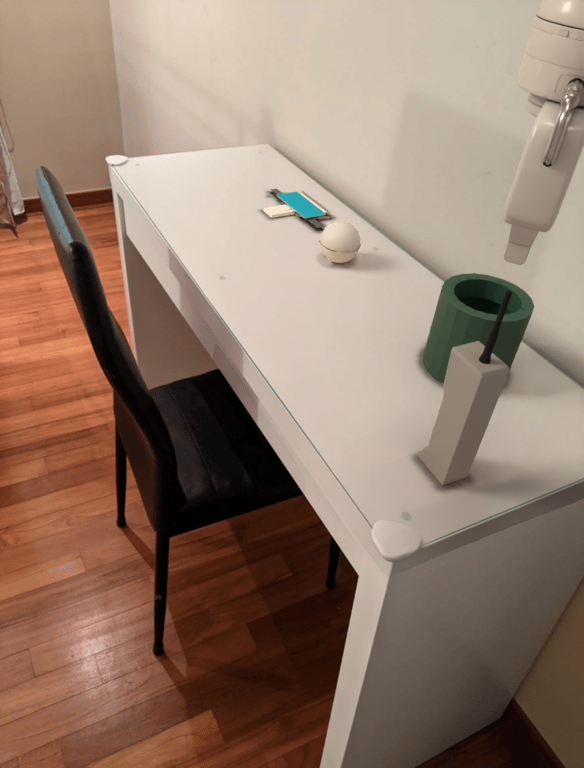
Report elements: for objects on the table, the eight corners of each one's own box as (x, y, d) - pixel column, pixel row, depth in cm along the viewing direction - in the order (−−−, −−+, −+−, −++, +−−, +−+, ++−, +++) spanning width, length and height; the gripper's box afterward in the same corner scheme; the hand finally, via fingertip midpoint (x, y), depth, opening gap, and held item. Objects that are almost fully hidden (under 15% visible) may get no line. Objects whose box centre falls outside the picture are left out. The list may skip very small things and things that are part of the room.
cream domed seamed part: (310, 254, 113) (314, 216, 108) (345, 249, 116) (350, 212, 111) (335, 280, 106) (341, 241, 102) (372, 274, 109) (379, 236, 104)
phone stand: (245, 195, 131) (246, 188, 130) (293, 189, 136) (294, 181, 135) (291, 235, 118) (292, 227, 117) (342, 226, 123) (343, 218, 122)
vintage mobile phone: (441, 450, 76) (503, 271, 60) (467, 478, 72) (539, 297, 57) (417, 458, 74) (473, 277, 58) (441, 487, 71) (508, 304, 55)
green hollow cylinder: (512, 357, 93) (539, 288, 85) (498, 403, 84) (527, 331, 76) (434, 333, 96) (453, 265, 88) (413, 375, 87) (432, 303, 79)
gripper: (623, 108, 37) (544, 301, 46) (629, 54, 52) (568, 208, 61) (519, 88, 39) (462, 278, 48) (553, 41, 54) (505, 193, 63)
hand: (522, 238), depth 54 cm, fingers open, 8 cm apart
